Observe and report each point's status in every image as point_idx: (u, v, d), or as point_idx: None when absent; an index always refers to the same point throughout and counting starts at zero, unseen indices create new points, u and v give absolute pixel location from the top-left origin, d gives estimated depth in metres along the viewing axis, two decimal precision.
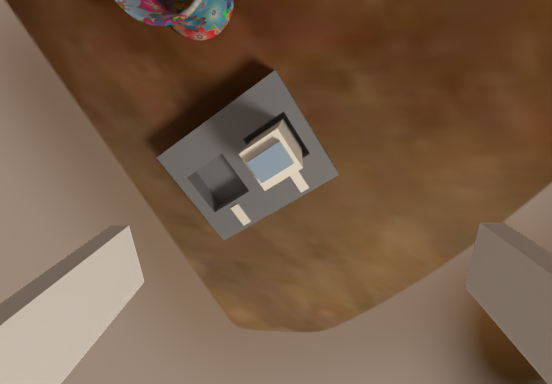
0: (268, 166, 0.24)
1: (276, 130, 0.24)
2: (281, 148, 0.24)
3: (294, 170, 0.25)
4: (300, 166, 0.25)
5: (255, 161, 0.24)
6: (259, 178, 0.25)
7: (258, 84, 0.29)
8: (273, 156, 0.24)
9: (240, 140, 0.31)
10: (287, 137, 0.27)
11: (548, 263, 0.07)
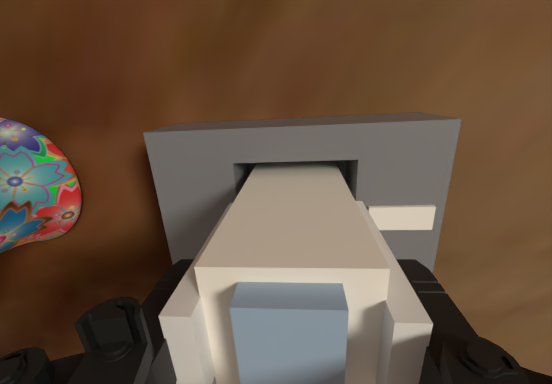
0: (300, 379, 0.06)
1: (200, 273, 0.06)
2: (260, 314, 0.05)
3: (376, 298, 0.06)
4: (377, 272, 0.06)
5: None
6: None
7: (157, 180, 0.13)
8: (273, 350, 0.06)
9: None
10: (270, 216, 0.08)
11: None
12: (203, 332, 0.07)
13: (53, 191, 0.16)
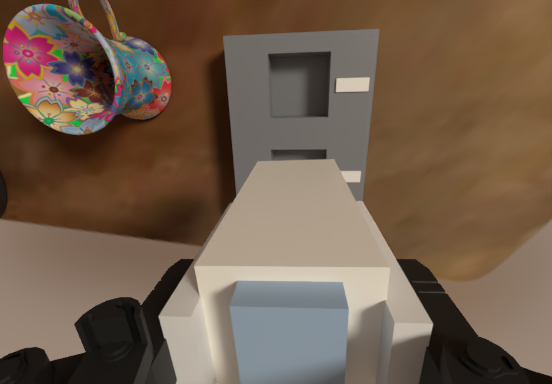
0: (299, 378, 0.06)
1: (200, 272, 0.06)
2: (260, 312, 0.05)
3: (376, 296, 0.06)
4: (377, 271, 0.06)
5: None
6: None
7: (227, 64, 0.25)
8: (273, 349, 0.06)
9: (269, 121, 0.27)
10: (270, 215, 0.08)
11: None
12: (203, 332, 0.07)
13: (160, 80, 0.28)
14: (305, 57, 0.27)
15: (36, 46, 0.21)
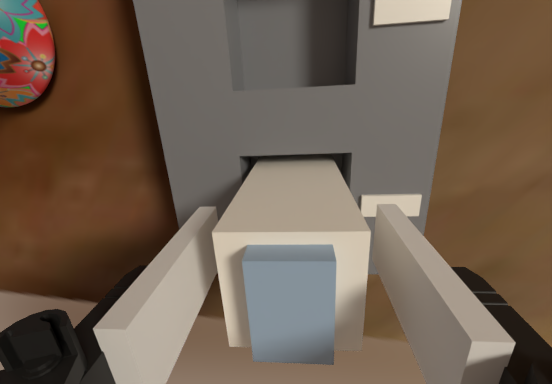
0: (298, 323, 0.07)
1: (216, 237, 0.08)
2: (266, 266, 0.07)
3: (360, 256, 0.07)
4: (360, 234, 0.07)
5: (263, 344, 0.08)
6: (315, 360, 0.08)
7: None
8: (277, 297, 0.07)
9: (232, 98, 0.13)
10: (273, 197, 0.10)
11: (405, 231, 0.09)
12: (146, 344, 0.06)
13: (19, 25, 0.14)
14: None
15: None
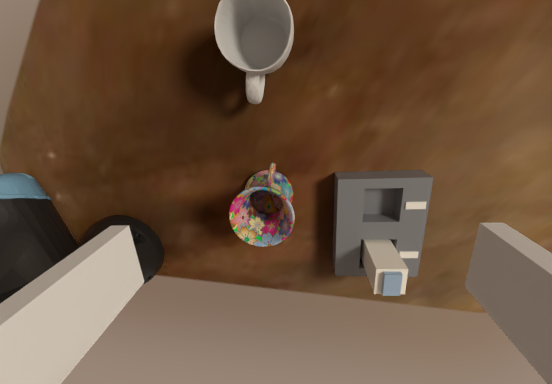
0: (393, 286, 0.38)
1: (377, 270, 0.38)
2: (389, 275, 0.37)
3: (406, 273, 0.38)
4: (406, 269, 0.37)
5: (385, 291, 0.38)
6: (396, 294, 0.38)
7: (338, 193, 0.42)
8: (390, 281, 0.37)
9: (361, 224, 0.43)
10: (381, 258, 0.40)
11: (548, 263, 0.07)
12: None
13: (290, 196, 0.44)
14: None
15: (242, 199, 0.38)
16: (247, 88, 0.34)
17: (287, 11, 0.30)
